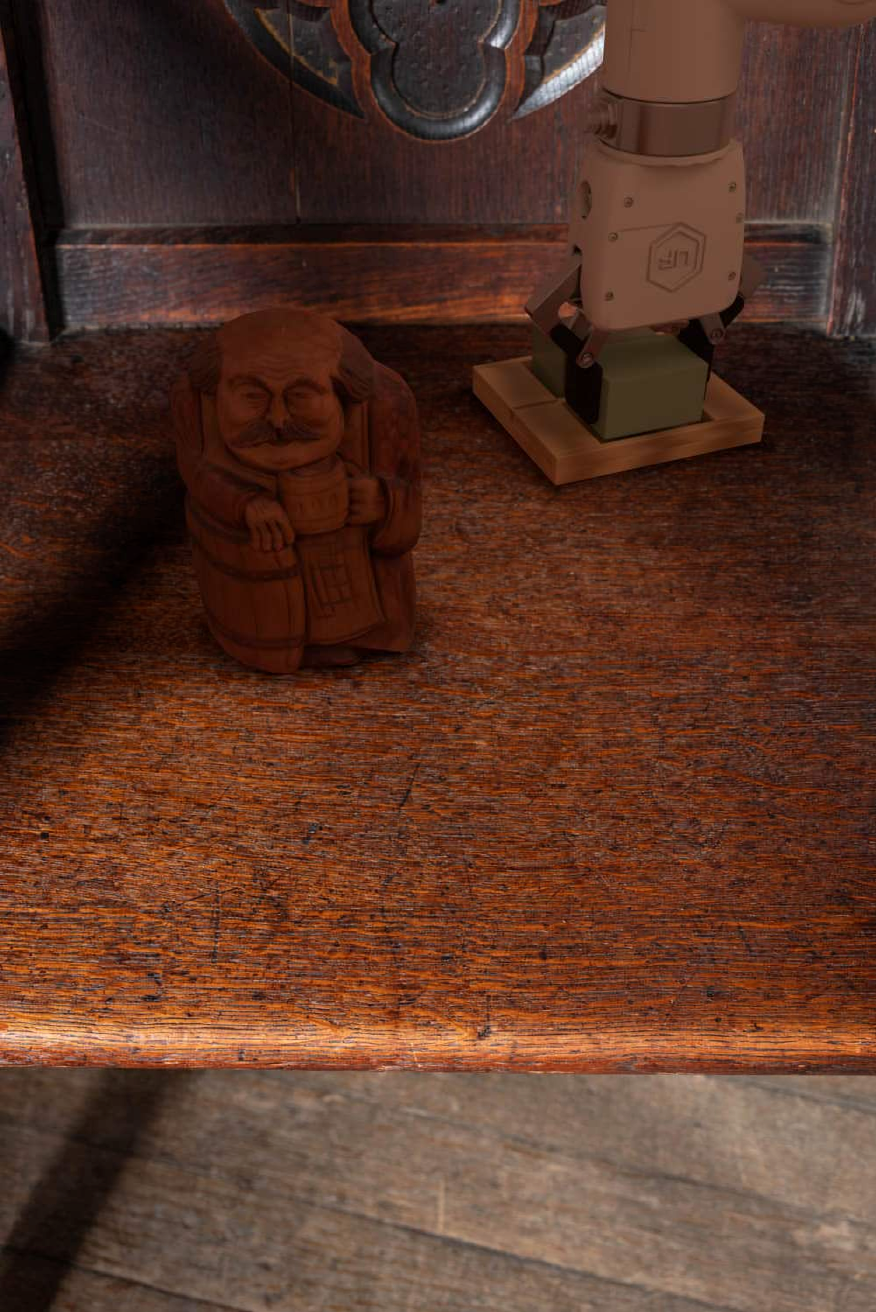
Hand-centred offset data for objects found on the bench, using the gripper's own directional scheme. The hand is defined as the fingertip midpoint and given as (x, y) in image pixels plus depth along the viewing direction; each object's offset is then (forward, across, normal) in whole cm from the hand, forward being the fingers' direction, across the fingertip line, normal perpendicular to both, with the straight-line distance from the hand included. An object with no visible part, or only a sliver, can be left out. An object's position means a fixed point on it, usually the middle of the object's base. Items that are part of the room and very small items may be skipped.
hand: (636, 402), depth 82 cm
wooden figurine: (+3, -26, -13) cm, 29 cm away
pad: (+1, 0, 0) cm, 1 cm away
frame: (+3, 0, +3) cm, 4 cm away
